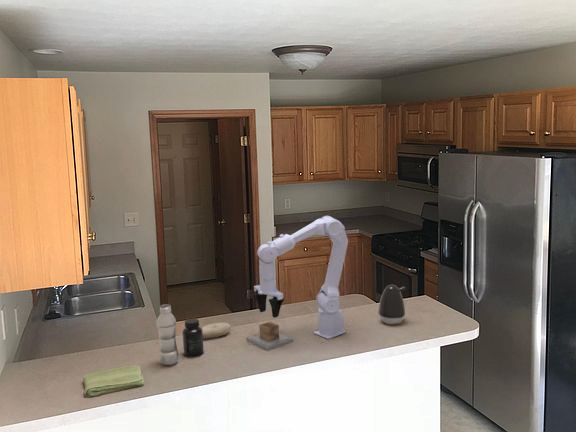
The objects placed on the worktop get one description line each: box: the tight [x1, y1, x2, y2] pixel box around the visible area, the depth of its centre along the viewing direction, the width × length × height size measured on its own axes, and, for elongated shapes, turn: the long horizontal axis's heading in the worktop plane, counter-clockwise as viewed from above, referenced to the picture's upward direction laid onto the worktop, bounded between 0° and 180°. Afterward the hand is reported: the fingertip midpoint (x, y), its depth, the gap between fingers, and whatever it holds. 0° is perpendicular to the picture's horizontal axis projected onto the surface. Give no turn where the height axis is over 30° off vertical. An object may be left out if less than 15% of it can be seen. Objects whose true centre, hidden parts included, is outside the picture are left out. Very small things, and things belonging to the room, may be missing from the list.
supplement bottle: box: [182, 318, 205, 358], centre depth 187 cm, size 7×7×12 cm
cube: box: [258, 321, 280, 342], centre depth 197 cm, size 5×5×5 cm
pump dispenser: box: [378, 284, 406, 325], centre depth 211 cm, size 10×10×15 cm
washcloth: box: [82, 364, 145, 398], centre depth 168 cm, size 13×18×3 cm
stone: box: [201, 322, 232, 339], centre depth 203 cm, size 6×6×12 cm
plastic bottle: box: [156, 303, 180, 366], centre depth 180 cm, size 6×7×20 cm
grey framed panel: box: [246, 332, 294, 351], centre depth 197 cm, size 12×12×1 cm
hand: (269, 314), depth 196 cm, fingers open, 7 cm apart
